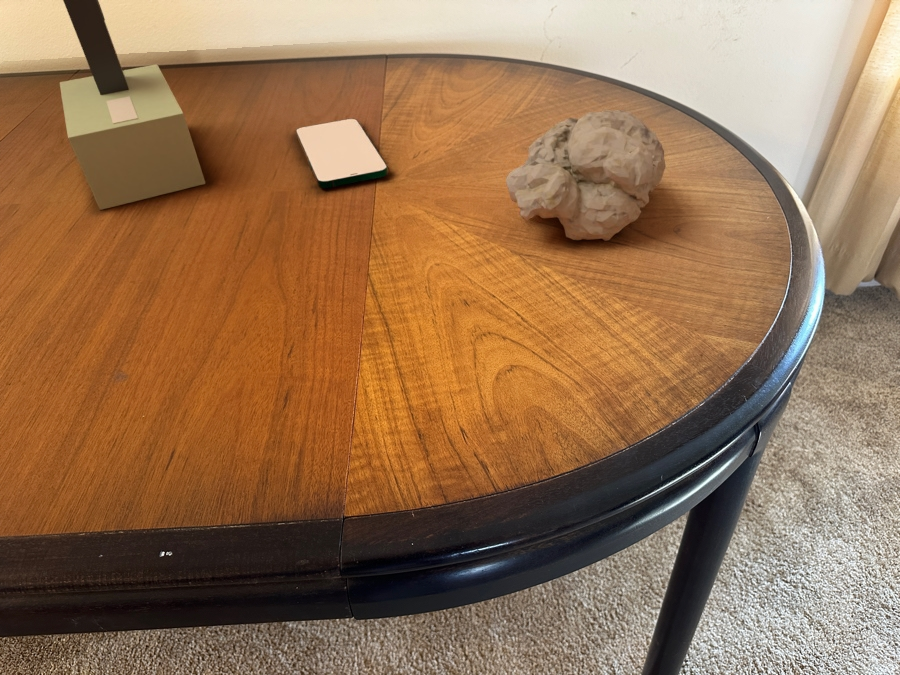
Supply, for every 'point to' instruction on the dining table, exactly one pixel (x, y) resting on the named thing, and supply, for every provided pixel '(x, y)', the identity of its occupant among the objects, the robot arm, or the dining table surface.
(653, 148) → the mineral
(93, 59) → the bar
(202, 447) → the dining table surface
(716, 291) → the dining table surface
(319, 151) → the smartphone
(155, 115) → the tissue box
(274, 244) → the dining table surface
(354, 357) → the dining table surface
